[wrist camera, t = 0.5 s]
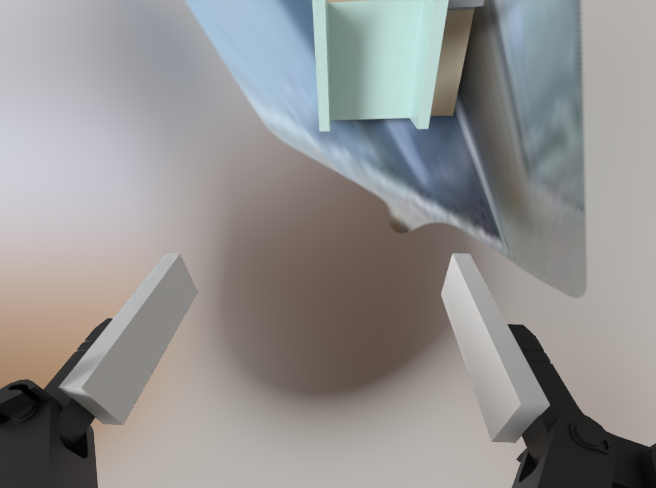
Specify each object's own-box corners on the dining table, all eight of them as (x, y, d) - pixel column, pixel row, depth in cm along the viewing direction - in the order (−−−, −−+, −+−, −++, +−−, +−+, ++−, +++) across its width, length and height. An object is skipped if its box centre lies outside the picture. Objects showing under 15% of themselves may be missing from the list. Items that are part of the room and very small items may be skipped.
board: (322, -108, 23) (321, -115, 22) (496, -123, 22) (503, -130, 21) (330, 116, 33) (329, 118, 32) (449, 112, 32) (452, 115, 31)
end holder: (317, 3, 26) (312, -2, 22) (434, -3, 26) (450, -9, 22) (323, 119, 32) (319, 131, 28) (417, 116, 32) (428, 128, 28)
